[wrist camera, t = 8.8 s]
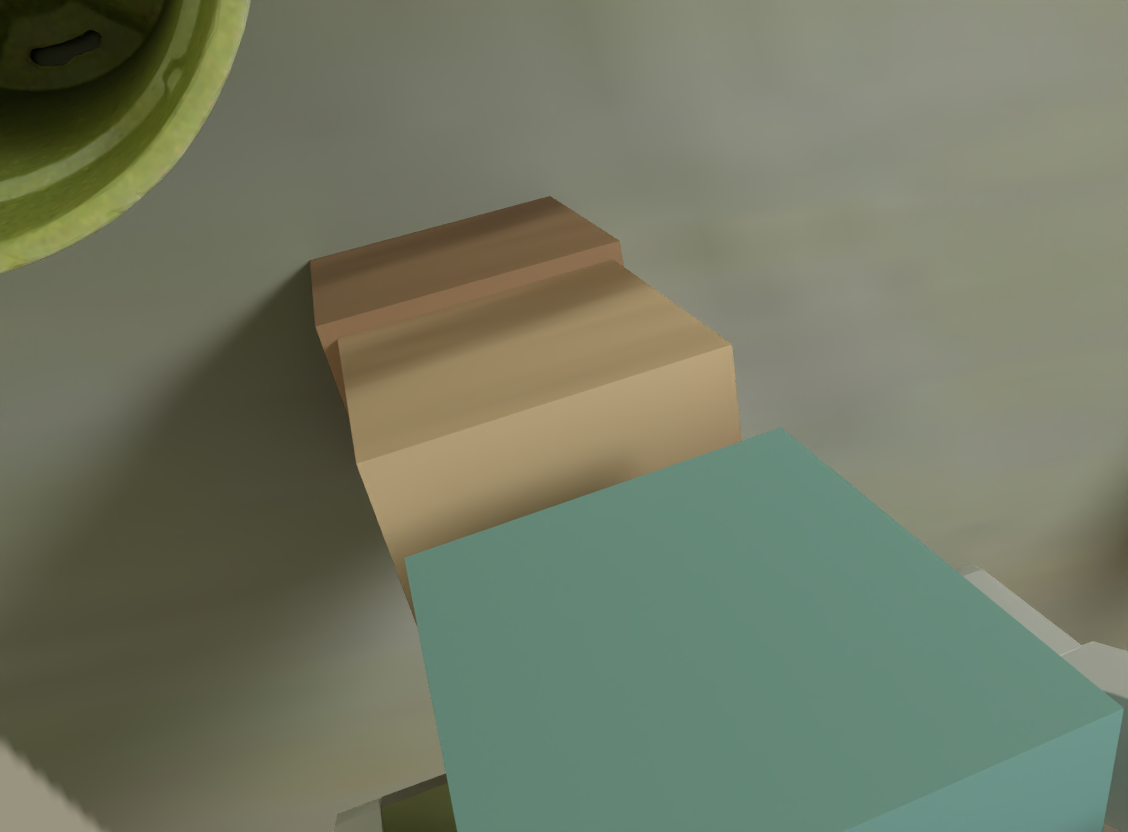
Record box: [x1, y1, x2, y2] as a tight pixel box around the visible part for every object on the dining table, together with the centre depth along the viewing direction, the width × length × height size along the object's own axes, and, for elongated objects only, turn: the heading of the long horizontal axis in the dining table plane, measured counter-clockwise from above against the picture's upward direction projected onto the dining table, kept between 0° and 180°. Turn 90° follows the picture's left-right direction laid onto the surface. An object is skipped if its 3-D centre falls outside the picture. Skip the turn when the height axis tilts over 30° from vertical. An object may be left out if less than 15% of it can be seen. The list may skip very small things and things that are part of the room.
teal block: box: [404, 428, 1124, 832], centre depth 9 cm, size 5×5×5 cm
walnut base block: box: [310, 196, 624, 421], centre depth 19 cm, size 6×6×5 cm
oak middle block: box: [338, 259, 742, 625], centre depth 15 cm, size 6×6×5 cm
